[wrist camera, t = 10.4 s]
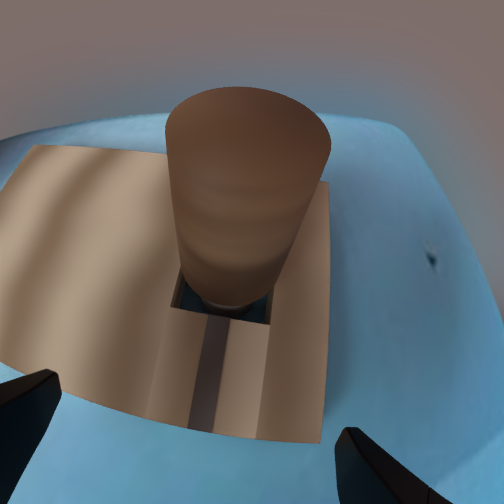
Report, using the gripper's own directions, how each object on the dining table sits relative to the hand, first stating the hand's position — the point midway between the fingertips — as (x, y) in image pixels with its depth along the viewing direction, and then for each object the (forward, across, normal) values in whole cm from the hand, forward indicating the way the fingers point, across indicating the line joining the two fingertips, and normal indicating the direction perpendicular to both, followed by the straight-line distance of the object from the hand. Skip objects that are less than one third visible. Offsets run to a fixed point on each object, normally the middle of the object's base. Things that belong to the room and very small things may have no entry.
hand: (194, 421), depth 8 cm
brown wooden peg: (+10, 0, 0) cm, 10 cm away
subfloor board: (+10, +6, -1) cm, 11 cm away
